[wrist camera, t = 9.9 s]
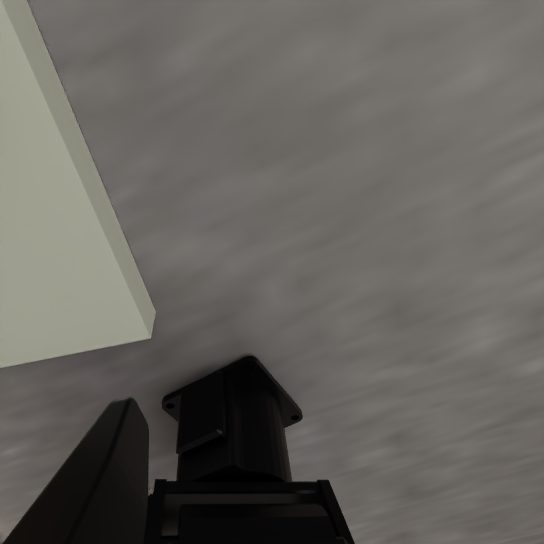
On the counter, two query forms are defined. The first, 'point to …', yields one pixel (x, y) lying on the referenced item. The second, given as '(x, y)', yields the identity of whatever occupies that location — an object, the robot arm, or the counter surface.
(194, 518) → the robot arm
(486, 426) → the counter surface
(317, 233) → the counter surface
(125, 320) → the board
